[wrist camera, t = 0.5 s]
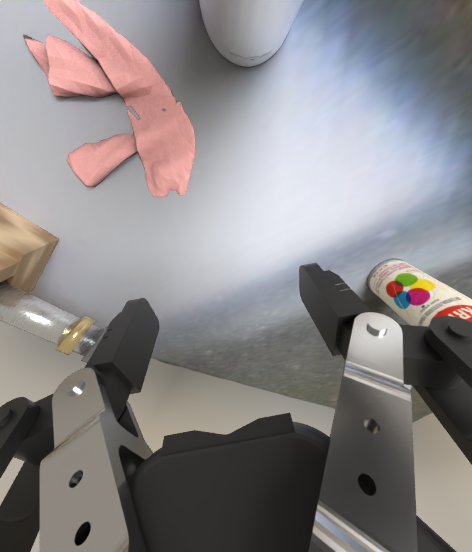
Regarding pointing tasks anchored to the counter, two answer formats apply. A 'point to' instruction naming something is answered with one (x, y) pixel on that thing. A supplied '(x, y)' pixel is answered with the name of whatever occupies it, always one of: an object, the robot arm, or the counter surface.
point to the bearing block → (22, 250)
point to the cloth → (131, 86)
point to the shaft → (49, 322)
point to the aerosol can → (416, 293)
